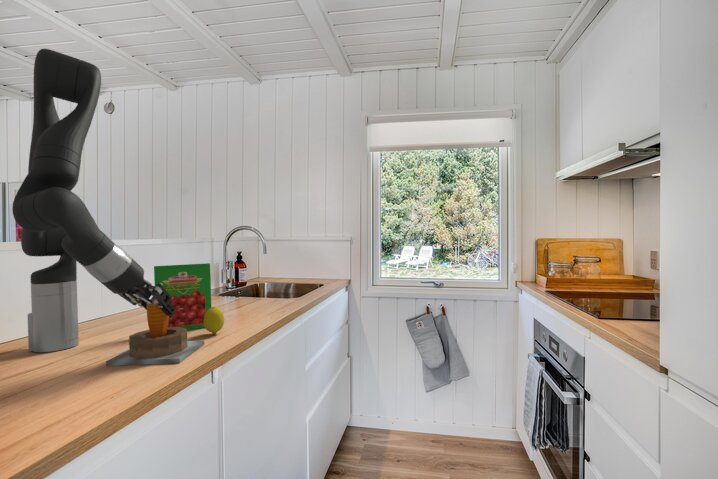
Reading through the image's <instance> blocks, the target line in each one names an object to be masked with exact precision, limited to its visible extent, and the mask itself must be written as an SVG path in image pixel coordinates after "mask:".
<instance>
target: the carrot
mask: <svg viewBox="0 0 718 479" xmlns="http://www.w3.org/2000/svg"><path fill="white" fill-rule="evenodd" d="M159 284H161V285H162V286H163V284H162V283H159ZM156 301H157V300H156ZM157 302H158V301H157ZM158 303H159V302H158ZM146 306H147V310H146V319H147V320H146V321H147V324H148V330H150V333H151V336H152V338H156V337H163V336H165V335H166V333H167V328H168V322H169V316H168V315H166V314H165V313H164V312H163V311H162V310H161V309H160V308H158V307H157V306H155V305H154V304H148V303H147V305H146Z"/></svg>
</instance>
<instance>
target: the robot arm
mask: <svg viewBox="0 0 718 479" xmlns="http://www.w3.org/2000/svg"><path fill="white" fill-rule="evenodd" d="M101 86H102V73H101V71H100V69H99V67H98V66H96V65H95V64H93V63H91V62H88V61H86V60H82V59H80V58H77V57H73V56H70V55H68V54H64V53H62V52H58V51H56V50H54V49H53V50H52V49H49V48H41V49H39V50H38V51H37V53H36V55H35V59H34V64H33V118H32V120H33V121H32V123H33V124H32V133H31V140H30V146H29V147H30V148H29V155H28V170H27V175H26V176H25V178H24V179H23V181H22V182H21V185H20V186H19V189H18V190H17V191H16V195H15V196H14V199H13V201H12V215H13V219H14V221H15V222H16V224H17V225H18V226H19V227H21V237H20V244H21V249H22V252H23V253H24V255H26V256H27V257H28V256H29V257H55V256H56V257H57V256H59V259H58V261H56V262H55V263H53V264H51V265H49V266H47V267H44V268H41V269H38V270H35V271H33V272H31V274H30V298H31V301H30V302H31V303H30V304H31V312H29V313H28V314H27V337H28V338H27V340H28V341H27V342H28V343H27V344H28V345H27V346H28V352H34V353H51V352H57V351H62V350H67V349H70V348H73V347H76V346H77V345H79V343H80V342H79V341H80V340H79V339H80V338H79V312H78V311H79V310H78V309H79V307H78V282H77V280H78V278H77V274H78V272H77V269H78V268H77V265H78V264H77V263H79V265H81V266H82V267H83V268H84V269H85V271H87V272H88V274H89V275H91V276H92V277H94V279H96V280H97V281H98V282H99V283H100V284H102V285H103V286H104V287H106V289H108V290H109V291H111V293H113V294H114V295H115V294H117V295H118V296H120V297H121V298H122V299H124V300H125V301H127V302H128V303H130V304H131V305H133V306H139V308H144V309H145V310H146V311H147V306H146V305H147V303H148V304H154V305H155V306H157V307H158V308H160V309H161V310H162V311H163V312H164V313H165V314H166V315H168V316H173V314H174V313H175V312H176V308H175V307H174V306H172V305H171V304H170V303H169V302H170V300H171V299H172V297H171V296H170V295H169V293H168V292H167V291H166V290H165V288H164V287H163V286H162V285H161V284H159V283H158V284H157V285H156V286H155V285H152V283H151V282H150V281H148V280H147V279H145V278H144V277H145V270H144V268H143V267H142V266H141V265H139V263H138V262H137V261H136V260H134V258H133V257H132V256H130V255H129V254H128V252H126V251H125V250H124V249H123V248H122V247H120V246H119V245H117V244H116V243H115V242H114V241H113V240H112V239H111V238H109V237H108V236H107V235H106V234H105V233H104V231H102V230H101V228H99V227H98V225H97V223H96V221H95V219H94V217H93V215H92V214H91V213H90V211H89V209H88V208H87V205H86V204H85V203H84V201H83V200H82V199H81V198H80V196H78V195H77V194H75V193H74V192H72V191H73V189H74V188H75V187H76V186H77V184H78V182H79V177H80V171H81V164H82V163H81V162H82V155H83V149H84V144H85V141H86V138H87V136H88V133H89V130H90V127H91V125H92V122H93V119H94V115H95V112H96V110H97V109H96V108H97V106H98V102H99V99H100V94H101ZM54 98H55V99H59V100H63V101H67V102H70V103H73V104H74V103H75V104H77V105H76V107H74V109H73V110H72V111H71V112H69V113H68V114H67V115H66V116H64V117H62V118H61V119H60V117H59V115H58V112H57V108H56V106H55V100H54ZM156 300H157V301H158V302H159V303H158V302H157V301H156Z"/></svg>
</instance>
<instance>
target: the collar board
mask: <svg viewBox="0 0 718 479" xmlns="http://www.w3.org/2000/svg"><path fill="white" fill-rule="evenodd" d="M128 342H129V345H128V346H129V348H128V349H127V350H125V351H123V352H122V353H121V352H120V353H119V354H117V355H116V356H114V357H113V356H112V358H110V359H108V360H106V361H105V366H106V367H109V366H110V367H111V366H112V367H113V366H114V367H115V366H134V365H135V366H136V365H137V366H138V365H140V366H141V365H158V364H159V365H163V364H166V365H167V364H180V363H182V362H183V361H185V360H186V359H187V358H188V357H190V356H191V355H192V354H194V353H195V352H197V351H198V350H200V348H203V346H204V345H205V340H188V330H186V328H180V327H168V328H167V333H166V335H165V336H163V337H156V338H152V336H151V333H150V330H149V329H146V330H142V331H139V332H135V333H133V334H131V335H129V337H128Z"/></svg>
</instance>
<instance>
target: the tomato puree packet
mask: <svg viewBox="0 0 718 479" xmlns="http://www.w3.org/2000/svg"><path fill="white" fill-rule="evenodd" d="M153 274H154V275H153V276H154V280H153V281H154V286H156V285H157V284H158V283H162V284H163V287H164V288H165V290H166V291H167V292H168V293H169V295H170V296H171V297H172V299H171V300H170V302H169V303H170V304H171V305H172V306H174V307H175V308H176V312H175V313H174V314H173V316H169V322H168V327H180V328H186V330H187V331H190V330H199V329H206V328H205V327H204V316H205V313H206V312H207V311H208V310H209V309H211V308H212V280H211V279H212V278H211V274H212V273H211V263H210V262H206V263H191V264H190V263H189V264H171V265H170V264H169V265H168V264H167V265H154V266H153Z"/></svg>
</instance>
